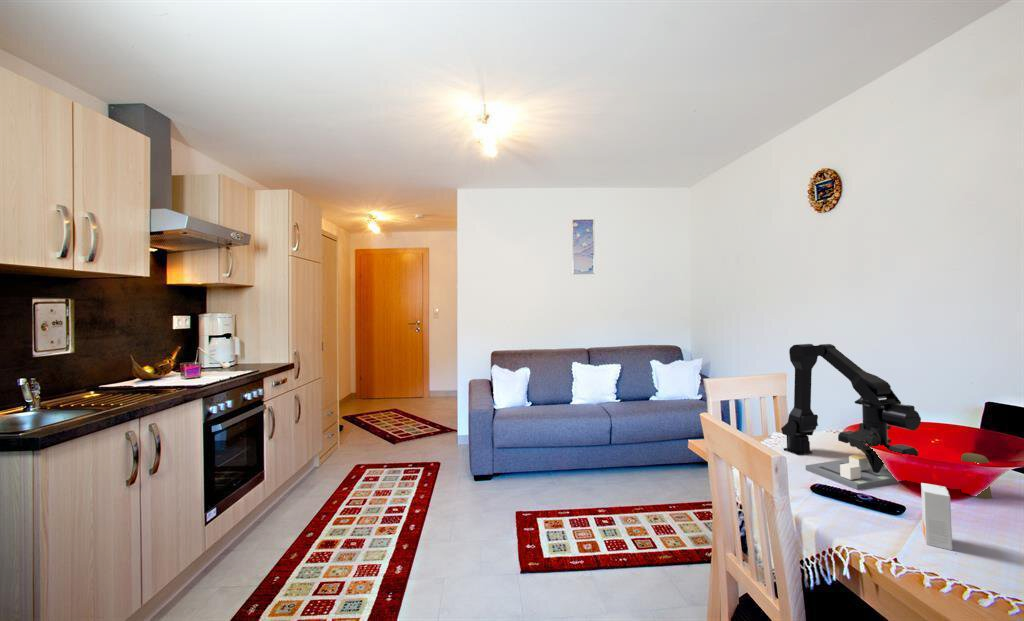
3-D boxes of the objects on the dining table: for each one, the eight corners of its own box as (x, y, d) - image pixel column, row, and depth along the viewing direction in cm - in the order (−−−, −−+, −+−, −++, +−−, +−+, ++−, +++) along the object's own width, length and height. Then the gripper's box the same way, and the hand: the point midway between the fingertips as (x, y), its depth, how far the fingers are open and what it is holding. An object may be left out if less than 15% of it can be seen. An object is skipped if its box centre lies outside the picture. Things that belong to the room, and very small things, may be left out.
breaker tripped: (849, 467, 133) (848, 456, 133) (858, 466, 134) (858, 454, 134) (859, 471, 130) (858, 459, 130) (868, 469, 131) (868, 457, 131)
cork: (995, 500, 112) (994, 459, 112) (962, 495, 116) (961, 455, 116) (988, 492, 117) (987, 453, 117) (957, 487, 121) (956, 449, 121)
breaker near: (840, 476, 127) (840, 464, 127) (850, 474, 128) (850, 462, 128) (850, 479, 124) (850, 468, 124) (860, 478, 125) (860, 466, 125)
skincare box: (922, 533, 98) (920, 482, 98) (948, 539, 95) (946, 486, 95) (925, 544, 93) (923, 491, 93) (953, 551, 91) (951, 496, 91)
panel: (805, 469, 137) (805, 465, 137) (860, 460, 143) (860, 456, 143) (857, 489, 121) (856, 484, 121) (916, 478, 127) (916, 473, 127)
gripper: (824, 416, 134) (825, 464, 134) (889, 432, 116) (891, 488, 116) (850, 413, 137) (851, 460, 137) (918, 428, 119) (920, 483, 119)
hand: (876, 472), depth 127 cm, fingers closed
